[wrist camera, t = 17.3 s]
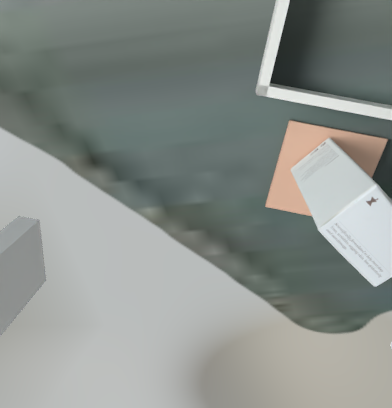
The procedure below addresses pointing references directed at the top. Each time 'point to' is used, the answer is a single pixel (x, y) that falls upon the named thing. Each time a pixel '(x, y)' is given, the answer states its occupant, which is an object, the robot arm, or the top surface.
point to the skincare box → (348, 209)
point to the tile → (303, 145)
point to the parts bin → (301, 94)
